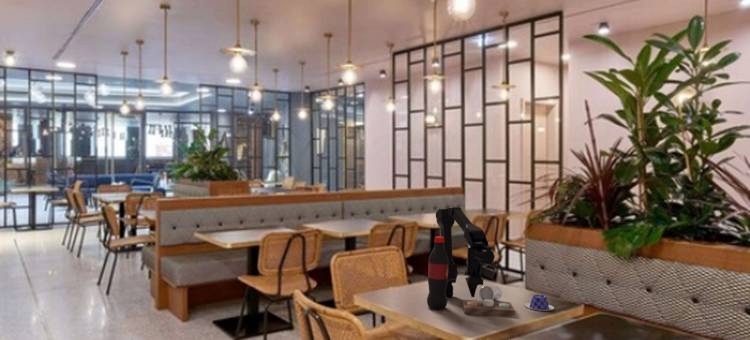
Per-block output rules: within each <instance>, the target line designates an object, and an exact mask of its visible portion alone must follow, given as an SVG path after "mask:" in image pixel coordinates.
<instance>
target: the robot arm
mask: <svg viewBox="0 0 750 340" xmlns="http://www.w3.org/2000/svg"><path fill="white" fill-rule="evenodd" d="M435 218H436V224H437V225H438V227H439V229H440V236H441V237H444V243H443V245H444V249H445V251H446V254H447V257H448V260H449V263H448V283H447V288H446V296H447V299H448V298H449V299H452V298H453V296H454V285H453V284H456V282H457V278H458V273H459V272H458V264H457V263H455V262H454V259H453V238H452V237H453V236H452V233H453V231H452V230H453V229H452V228H453V226H454V224H455V223H456V224H457V225H458V226H459V228H461V230H462V231H463V238H464V240H465V241H466V244H465V245H464V246H465V247H466V248H467V250H466V251H467V252H466V253H467V256H466V267H465V269H464V270H463V272H464V273H463V274H464V276H466V277H465V281H466V284H467V288H468V291H469V293H470V297H471V298H474V297H475V295H476V292H477V288H478V286H484V278H483V276H485V277H487V278H489V279H490V280H492V279H493V278H494V276H495V273H496V271H495V270H494V269H492V266H491V264H492V263H493V262H494V261H495V258H496V257H495V253H494V251H492V250H491V246H489V241H488V239H487V236H486V234H485V232H484V230H483V229H482V228H481V227H480V226H478V225H475V224H473V223H472V222H471V220H470V219H469V218H468V216H467V215H466V214H465V213H464V211H463V210H462V207H459V206H450V207H448V208H438V209H437V211H435ZM483 264H484V265H483Z"/></svg>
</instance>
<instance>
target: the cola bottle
mask: <svg viewBox="0 0 750 340" xmlns="http://www.w3.org/2000/svg"><path fill="white" fill-rule="evenodd" d="M433 243H434V246H433V249H432V250H431V252H430V255H429V257H428V259H427V260H428V261H427V262H428V271H427V273H428V276H427V282H428V283H427V284H428V294H427V297H426V304H427V306H428V308H430V309H431V310H435V311H442V310H445V309H446V308H447V305H448V298H447V296H446V288H447V283H448V263H449V260H448V257H447V254H446V251H445V249H444V245H443V243H444V237H441V235H439V236H435V237H434V242H433Z"/></svg>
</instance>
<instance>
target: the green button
mask: <svg viewBox="0 0 750 340" xmlns="http://www.w3.org/2000/svg"><path fill="white" fill-rule="evenodd" d="M509 306H510V305H509V304H506V303H499V306H498V307H503V308H509Z"/></svg>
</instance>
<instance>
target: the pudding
mask: <svg viewBox="0 0 750 340" xmlns="http://www.w3.org/2000/svg"><path fill="white" fill-rule="evenodd" d="M524 306H525V307H526V308H528V309H531V310H536V311H543V312H545V311H553V310H554V309H555V307H554V306H553V305H551V304H549V301H548V297H547V296H546V295H543V294H533V295H532V297H531V301H530V302H526V303H525V304H524Z"/></svg>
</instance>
